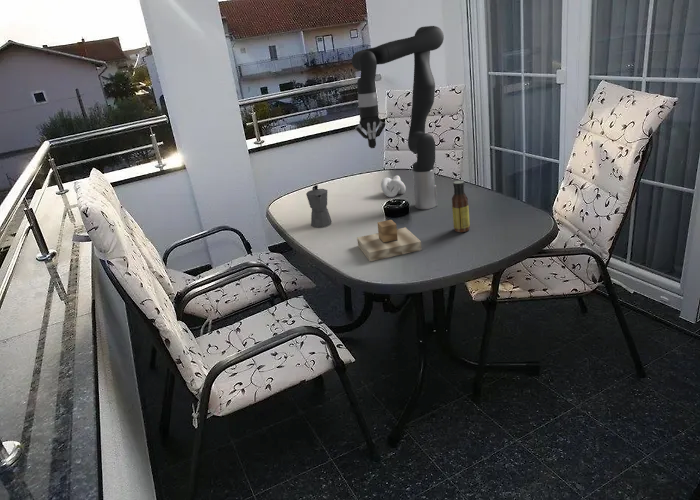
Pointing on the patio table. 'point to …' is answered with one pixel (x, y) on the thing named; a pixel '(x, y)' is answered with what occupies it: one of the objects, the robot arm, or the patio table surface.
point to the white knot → (393, 186)
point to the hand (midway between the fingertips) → (372, 147)
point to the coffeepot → (318, 207)
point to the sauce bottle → (460, 208)
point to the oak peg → (387, 231)
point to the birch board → (388, 245)
